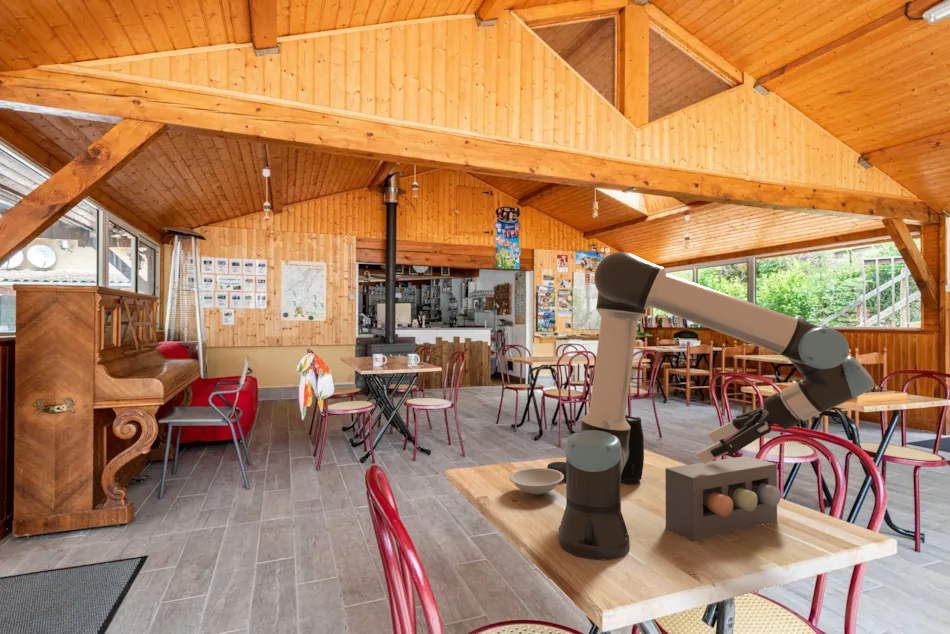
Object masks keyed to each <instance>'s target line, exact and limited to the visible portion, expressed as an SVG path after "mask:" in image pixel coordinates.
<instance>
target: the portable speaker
mask: <svg viewBox="0 0 950 634" xmlns="http://www.w3.org/2000/svg"><path fill="white" fill-rule="evenodd" d="M625 419H626V421H627V422H628V424H629V425H630V436H629V444H628V445H629V457H628V460H627V462H626V464H625V466H624V468H623V471H622V474H621V482H623V484H625V485H638V484H639V482H640V480H642V477H643V469H644V461H645V448H644V445H645V444H644V443H645V442H644V432H643V426H642V418H641V417H640V416H637V417H635V416H629V415H628V414H626V416H625Z"/></svg>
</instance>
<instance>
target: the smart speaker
mask: <svg viewBox="0 0 950 634" xmlns="http://www.w3.org/2000/svg"><path fill="white" fill-rule="evenodd" d="M546 468H548V469H553V470H557V471H559V472H561V473H562V474H563V475H564V479H563V480H566V462H565V461H554V462H550V463H548V464H547V467H546Z"/></svg>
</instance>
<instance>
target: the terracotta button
mask: <svg viewBox="0 0 950 634" xmlns="http://www.w3.org/2000/svg"><path fill="white" fill-rule="evenodd" d="M703 504H705V505H707V506H708V508H709V510H710V511H711V512H714V513H716V514H719V515H721V516H723V517H727V516H729V515H730V514H731V512H732V510H733V501H732V499H731V498H730V497H728V496H725V495H722V494H720V493H717V492H714V493H712V494H708V493H703Z"/></svg>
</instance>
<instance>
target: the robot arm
mask: <svg viewBox="0 0 950 634" xmlns="http://www.w3.org/2000/svg"><path fill="white" fill-rule="evenodd" d="M594 285H595V287H596V290H597V299H596V306H595V307H596V308H595V310H596V311H597V313H598V315H600V319H601V320H600V324H599V325H600V326H599V333H598V334H599V335H598V343H597V350H596V355H595V364H594V365H595V366H594V372H593V381H592V389H591V396H590V404H589V411H588V413H587V414H585V415H584V416H582V418H581V424H580V430H579V432H574V433H572V434H571V435H569V436H568V438H567V440H566V447H565V457H566V459H565V461H566V481H565V482H566V483H565V484H566V485H565V486H566V487H565V489H566V492H565V493H566V494H565V495H566V498H565V499H566V500H565V501H566V502H565V503H566V504H565V507H564V508H565V509H564V511H563V515H562V518H561V523H560V524H559V527H558V530H557V531H558V532H557V533H558V536H557V537H558V539H557V540H558V543H559V545H560V546H561V548H563V549H564V550H565V551H567V552H569V553H571V554H573V555H575V556H578V557H581V558H587V559H593V560H611V559H612V560H613V559H618V558H621V557H624V556H625V555H627V554H628V552H629V550H630V545H631V544H630V535H629V531H628V530H627V529H628V528H627V525H626V522H625V519H624V515H623V513H622V504H621V503H622V480H621V474H622V471H623V468H624V466H625V464H626V462H627V460H628V457H629V445H628V444H629V436H630V425H629V424H628V422H627V421H626V419H625V416H626V415H627V414H626V413H627V406H628V400H629V393H630V383H631V378H632V377H631V376H632V371H633V370H632V369H633V368H632V367H633V363H634V362H633V360H634V353H635V346H636V339H637V338H636V337H637V333H638V332H637V330H638V323H639V321H640V320H641V319H642V318H644V317H645V316H646V314H647V313H646V312H647V310H649V309H651V308H654V309H656V310H659V311H662V312H664V313H667V314H670V315H673V316H674V317H675V316H676V317H678V318H680V319H682V320H686V321H689V322H691V323H694V324H697V325H700V326H702V327H704V328H708V329H710V330H713V331H715V332H718V333H721V334H723V335H726V336H729V337H732V338H734V339H738V340H740V341H743V342H745V343H749V344H751V345H753V346H757V347H759V348H762V349H764V350H767V351H771V353H772V352H773V353H774V354H778V355H780V356H783V357H785V358H787V359H788V360H789V361H790V362H791V363H792V364H793V366H794V367H795V368H796V369H797V370H798V371H799V373H800V374H801V376H803V378H804V379H801V380H799V381H796V382H795V383H793V384H790V385H789V386H786V387H785V388H783V389H781V392H776V393H774V394H771V395H769V396H768V397H765V398H764V400H763V406H761V407H758V408H754V409H752V410H750V411H747V412H744V413H742V414H740V415H737V416H736V417H735V418H733V419H732V421H729V422H727V423H726V424H724V425H723V424H722V425H721V426H719V427H718V428H715V429H714V430H712V431H710V432H708V433H707V435H708V436H709V437H710V439H711V440H712V441H713V443H714V444H712V445H710V446H707V447H706V448H704V449H702V450H699V451H698V452H696V456H698V459H700V461H701V463H704V464H705V463H708V462H710V461H715V460H717V459H718V458H720V457H722V456H724V455H727V454H729V455H730V456H732V455H734V454H735V453H737V452H738V451H740V450H742V449H743V448H746V446H748V445H750V444H751V443H753V442H755V441H756V440H758V439H760V438H762V437H763V436H765V435H767V434H770V433H771V432H772V426H774V425H777V426H779V427H780V428H781V429H783V430H788V429H790V428H792V427H795V426H797V425H799V424H801V422H802V421H807V420H809V419H812V418H813V417H814V418H816V419H818V418H820V416H821V415H820V414H822V413H825V412H826V411H828V410H830V409H833V408H836V407H837V406H840V405H842V404H844V403H847V402H849V401H851V400H855V399H857V397H860V396H862V395H863V394H865V393H867V392H869V391H871V390H873V389H874V387H875V380H874V379H873V377H872V376H871V374H870V373H869V372H868V370H867V369H866V368H865V367H864V366H863V364H861V362H859V360H858V359H856V358H855V357H854V356H852V355H849V353H850V346H849V342H848V339H847V338H846V337H845V336H844V335H843V334H842V333H841V332H840V331H838V330H835V329H833V328H831V327H828V326H820V325H817V324H814V323H810V322H809V321H807V320H806V319H805V318H804V317H803V316H801V315H796V316H794V317H793V316H790V315H787V314H785V313H782V312H779V311H775V310H773V309H769V308H767V307H766V306H765V307H764V306H761V305H759V304H755V303H753V302H749V301H747V300H744V299H741V298H738V297H735V296H732V295H730V294H726V293H723V292H720V291H718V290H715V289H712V288H709V287H707V286H704V285H700V284H698V283H695V282H693V281H688V280H686V279H683V278H680V277H677V276H676V275H675V276H674V275H671V274H668V273H667V272H666V270H665V267H663V266H660V265H657V264H656V263H652V262H650V261H647V260H645V259H643V258H641V257H639V256H637V255H635V254H634V253H633V254H632V253H630V252H626V251H618V252H613V253H611V254H608V255H606V256H605V257H604V258H602V260H601V261H600V262H599V263H598V265H597V266H596V268H595V272H594Z"/></svg>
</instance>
